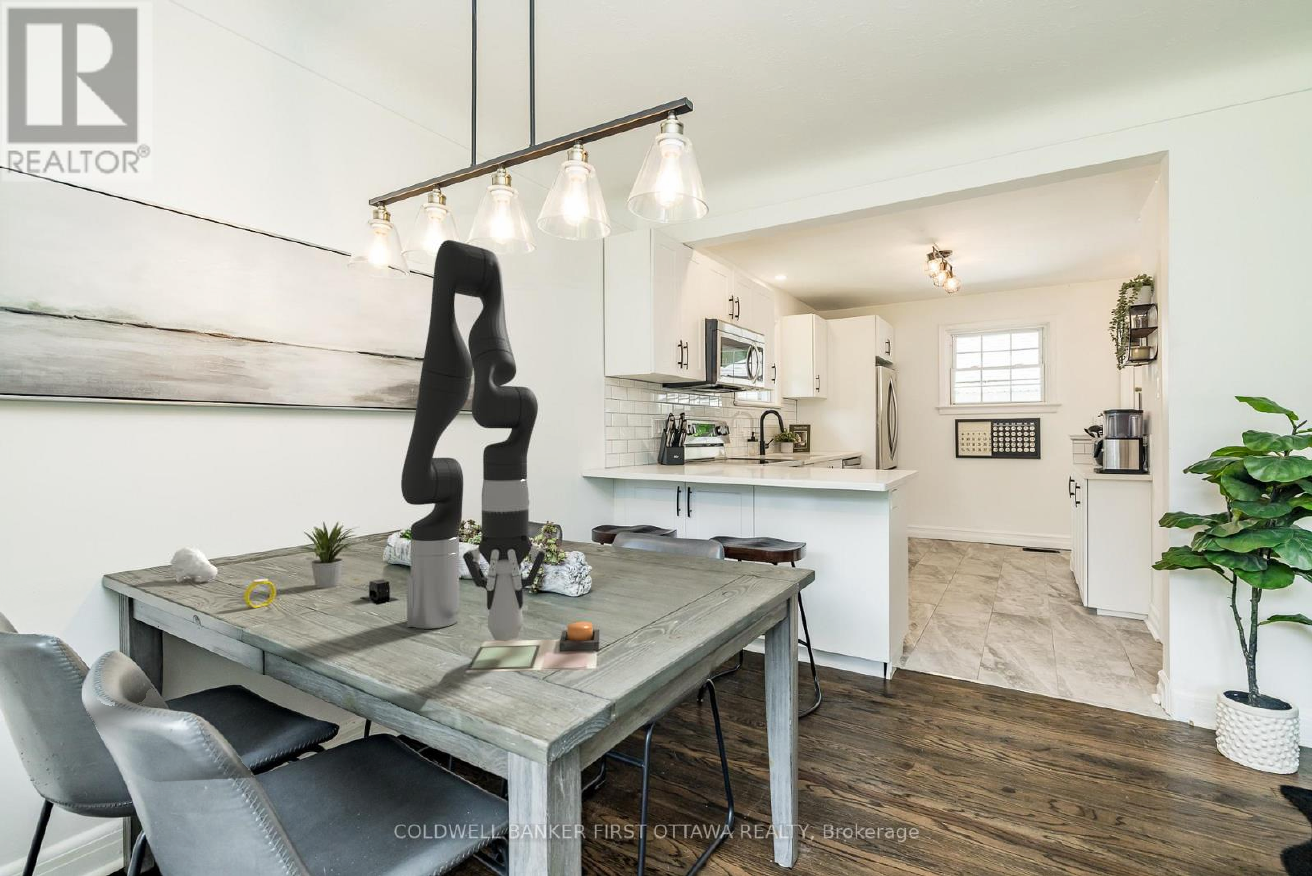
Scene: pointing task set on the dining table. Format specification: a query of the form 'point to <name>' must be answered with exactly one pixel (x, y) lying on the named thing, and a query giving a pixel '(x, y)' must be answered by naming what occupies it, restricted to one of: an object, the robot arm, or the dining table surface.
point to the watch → (255, 582)
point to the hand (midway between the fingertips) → (505, 611)
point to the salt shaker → (504, 605)
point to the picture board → (536, 655)
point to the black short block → (379, 592)
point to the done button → (580, 631)
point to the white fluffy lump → (192, 565)
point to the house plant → (327, 556)
